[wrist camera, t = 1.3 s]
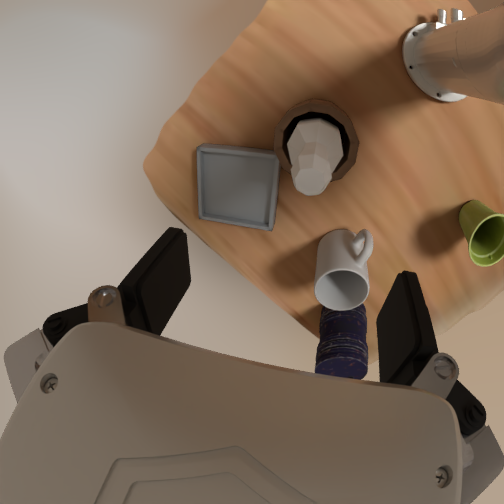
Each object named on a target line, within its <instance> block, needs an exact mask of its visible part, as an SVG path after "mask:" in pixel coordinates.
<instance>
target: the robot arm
mask: <svg viewBox="0 0 504 504" xmlns="http://www.w3.org/2000/svg"><path fill="white" fill-rule="evenodd" d="M437 17H438V22H436V23H432V22H427V23H422V24H419V25H416V26H415V27H413V28H412V29H411V30H410V31H409V32H408V33H407V35H406V36H405V38H404V41H403V46H402V56H403V61H404V65H405V68H406V70H407V72H408V74H409V76H410V77H411V79H412V80H413V82H414V83H415V84H416V85H417V86H418V87H419V88H420V89H421V90H422V91H423V92H424V93H426V94H427V95H429V96H431V97H433V98H435V99H437V100H441V101H446V102H456V101H459V100H462V99H464V98H465V97H467V96H471V97H475V98H479V99H484V100H488V101H491V102H495V103H499V104H503V105H504V2H503V3H502V4H500V5H499V6H497V7H495V8H493V9H491V10H488V11H485V12H483V13H480V14H477V15H474V16H471V17H468V18H465V19H463V12H462V11H460V10H458V9H454V8H452V9H451V23H450V24H448V25H447V24H446V11H444V10H442V9H437ZM412 33H413V34H414V35H415V36H413V35H412ZM409 66H411V67H412V69H410V68H409ZM436 93H438V96H437V94H436ZM190 282H191V275H190V266H189V255H188V245H187V235H186V233H184V232H183V230H182V229H179V228H173V227H169V228H168V229H167V230H166V231H165V233H164V234H163V235H162V236H161V237H160V238H159V239H158V240H157V241H156V242H155V244H154V245H153V246H152V247H151V248H150V249H149V250H148V251H147V253H146V254H145V255H144V256H143V257H142V258H141V259H140V261H139V262H138V263H137V264H136V265H135V266H134V268H133V269H132V270H131V271H130V272H129V274H128V275H127V276H126V277H125V278H124V279H123V281H122V282H121V283H120V285H119V286H118V287H117V288H116V287H114V286H110V285H106V286H101V287H98V288H97V289H95V290H93V291H92V293H91V294H90V296H89V297H88V303H86V304H83V305H80V306H77V307H74V308H71V309H67V310H64V311H61V312H58V313H55V314H52V315H51V316H50V317H48V318H47V319H46V321H45V322H44V324H43V329H42V330H40V329H39V328H38V329H36V330H34V331H33V332H31V333H29V334H28V335H26V336H25V337H23V338H21V339H20V340H18V341H16V342H15V343H13V344H12V345H10V346H9V347H8V348H7V350H6V351H5V354H4V362H5V366H6V369H7V373H8V376H9V380H10V383H11V386H12V389H13V392H14V395H15V398H16V400H17V406H16V408H15V410H14V412H13V414H12V416H11V418H10V420H9V422H8V424H7V426H6V428H5V430H4V432H3V434H2V437H1V439H0V504H470V503H472V502H473V500H475V499H476V498H477V497H478V496H479V495H480V494H481V493H482V492H483V491H484V490H485V489H486V488H487V487H488V486H489V485H490V484H491V483H492V482H493V480H494V479H495V478H496V477H497V476H498V475H499V474H500V472H501V471H502V470H503V467H504V455H503V453H502V451H501V449H500V447H499V444H498V442H497V440H496V438H495V436H494V434H493V433H492V431H491V429H490V427H489V426H487V427H486V426H485V421H486V411H485V408H484V406H483V405H482V404H481V403H480V402H479V401H478V400H477V399H476V398H475V397H474V396H473V395H472V394H471V393H470V392H469V391H468V390H467V389H466V388H465V387H464V386H463V385H462V384H461V383H460V382H459V381H458V380H457V378H458V375H459V368H458V365H457V363H456V361H455V360H454V359H453V358H452V357H451V356H450V355H448V354H446V353H439V352H438V348H437V344H436V339H435V334H434V330H433V326H432V322H431V318H430V315H429V311H428V308H427V306H426V304H425V300H424V297H423V293H422V290H421V287H420V284H419V280H418V277H417V274H416V273H414V272H409V271H403V272H402V273H399V274H398V275H397V277H396V279H395V281H394V284H393V286H392V288H391V290H390V292H389V294H388V296H387V298H386V300H385V302H384V304H383V307H382V309H381V310H380V312H379V314H378V317H377V322H376V325H377V337H378V352H379V373H380V382H373V381H365V380H358V379H351V378H343V377H336V376H329V375H323V374H317V373H310V372H305V371H300V370H294V369H289V368H284V367H279V366H274V365H269V364H264V363H259V362H255V361H250V360H246V359H242V358H238V357H234V356H230V355H226V354H222V353H218V352H214V351H211V350H207V349H203V348H200V347H196V346H192V345H189V344H186V343H182V342H179V341H175V340H172V339H169V338H165V337H162V336H160V335H161V333H162V331H163V329H164V328H165V326H166V324H167V323H168V321H169V319H170V318H171V316H172V314H173V312H174V311H175V309H176V308H177V306H178V304H179V302H180V301H181V299H182V298H183V296H184V294H185V292H186V291H187V289H188V288H189V286H190Z"/></svg>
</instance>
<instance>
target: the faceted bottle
mask: <svg viewBox="0 0 504 504" xmlns="http://www.w3.org/2000/svg"><path fill="white" fill-rule="evenodd" d="M287 146H288V151H289V155H290V160H291V164H292V165H293V166H292V168H291V174H292V179H293V183H294V186H295V188H296V189H297V190H298V191H299V192H301V193H303V194H305V195H307V196H310V195H319V194H320V193H322V192H323V191H324V190H325V188H326V187H327V185H328V183H329V182H330V180H331V179H332V175H331V173H333V171H334V170H335V168H336V166H337V165H338V163H339V161H340V160H341V158H342V156H343V149H342V143H341V137H340V132H339V129H338V127H337V126H335V125H333V124H332V123H330V122H328V121H326V120H324V119H323V118H321V117H318V118H310V119H305V120H300V121H299V123H298V124H297V126H296V128H295V130H294V132H293V134H292V136H291V137H290V139H289V141H288V143H287Z"/></svg>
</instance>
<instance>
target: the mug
mask: <svg viewBox="0 0 504 504" xmlns="http://www.w3.org/2000/svg"><path fill="white" fill-rule="evenodd" d="M364 240H365V242H364V243H363V241H364ZM372 251H373V237H372V235H371V233H370V232H369V231H368V230H366V229H362V230H361V231H360V232H359V233H358V234H355V233H354V232H352V231H349V230H343V229H339V230H334V231H331V232H329V233H327V234H326V235H325V236H324V237H323V238H322V239H321V241H320V242H319V245H318V250H317V264H316V273H315V282H314V293H315V296H316V298H317V300H318V301H319V302H320V303H321V304H322V305H323V306H325V307H327V308H329V309H332V310H338V311H343V310H350V309H353V308H355V307H357V306H359V305H361V304H362V303H363V302H364V301H365V300H366V298H367V296H368V294H369V278H368V270H367V262H366V261H367V260H368V258H369V257H370V255H371V253H372Z"/></svg>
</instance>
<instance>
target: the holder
mask: <svg viewBox="0 0 504 504" xmlns="http://www.w3.org/2000/svg"><path fill="white" fill-rule="evenodd" d="M310 111H314V112H320V113H326V114H330V115H331V116H332V117H334V118H335V119H336V120H337V121H339V122H340V123H341V124H342V125H344V127H345V130H346V131H345V137H344V143H343V145H342V149H343V156H342V158H341V160H340V161H339V163H338V165H337V166H336V168H335V170H334V171H333V173H331V175H332V179H331V180H330V182H332V181H335V180H338V179H341V178H342V177H343V176H344V175H345V174H346V173H347V172H348V171H349V170H350V168H351V167H352V166H353V165H354V164H355V162H356V157H357V152H358V146H359V140H358V138H357V135H356V132H355V130H354V127H353V125H352V122H351V120H350V119H349V117H348V116H347V114H346V113H345V112H344V111H342V110H341V109H340V108H339V107H337V106H336V105H335V104H334V103H332V102H331V101H325V100H319V99H310V100H307V101H305V102H302V103H299V104H297V105H295V106H294V107H292V108H291V109H290V110H288V112H287V113H286V114H285V115H284V117H283V118H282V119H281V121H280V122H279V123H278V125H277V126H276V127H275V135H274V147H273V149H274V151H275V153H276V156H277V158H278V160H279V162H280V164H281V166H282V168H283V169H284V170H286V171H287V172H288V173H290V174H291V168H292V166H293V165H292V164H291V160H290V155H289V151H288V146H287V143H288V141H289V139H290V137H291V125H292V120H293V119H294V118H295V117H296V116H299V115H301V114H304V113H307V112H310ZM291 175H292V174H291Z"/></svg>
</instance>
